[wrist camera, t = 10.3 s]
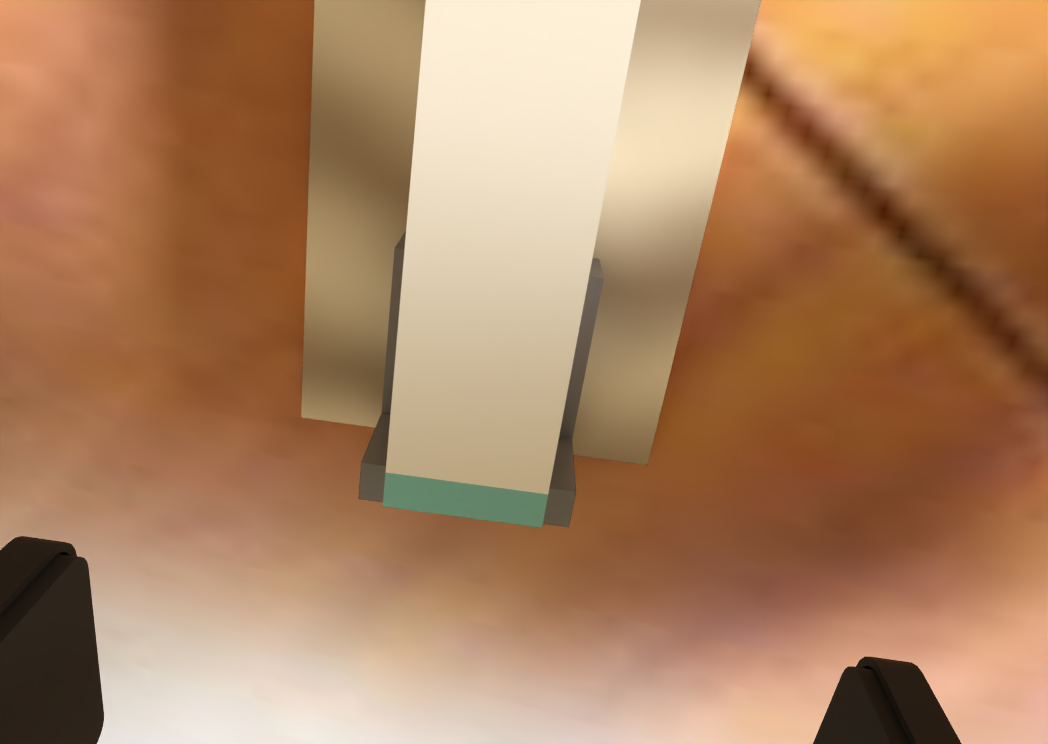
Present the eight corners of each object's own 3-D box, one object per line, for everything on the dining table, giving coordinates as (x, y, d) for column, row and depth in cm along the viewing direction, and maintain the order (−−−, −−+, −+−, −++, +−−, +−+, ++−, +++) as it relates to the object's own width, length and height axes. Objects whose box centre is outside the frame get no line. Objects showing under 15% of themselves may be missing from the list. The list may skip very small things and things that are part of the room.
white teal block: (476, -149, 20) (445, -226, 13) (633, -122, 20) (675, -186, 14) (422, 385, 26) (382, 506, 20) (542, 402, 26) (541, 528, 20)
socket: (405, 230, 24) (374, 280, 20) (599, 258, 24) (612, 315, 20) (389, 416, 27) (358, 499, 22) (564, 440, 27) (568, 527, 23)
